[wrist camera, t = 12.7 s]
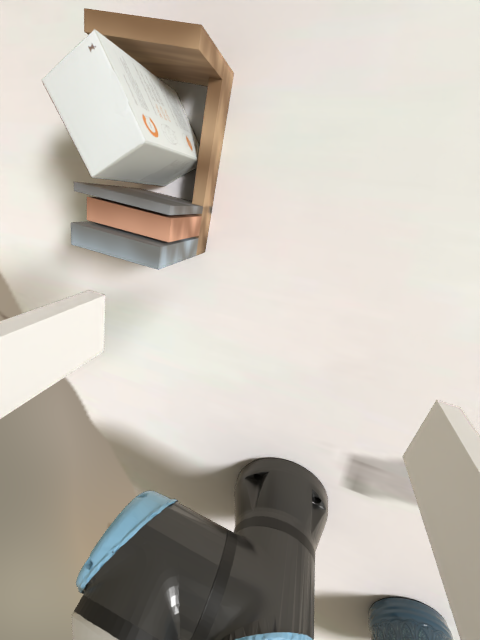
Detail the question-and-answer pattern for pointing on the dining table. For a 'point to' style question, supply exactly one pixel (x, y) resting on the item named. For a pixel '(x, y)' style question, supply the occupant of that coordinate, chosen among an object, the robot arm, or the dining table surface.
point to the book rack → (194, 216)
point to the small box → (121, 115)
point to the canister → (406, 621)
